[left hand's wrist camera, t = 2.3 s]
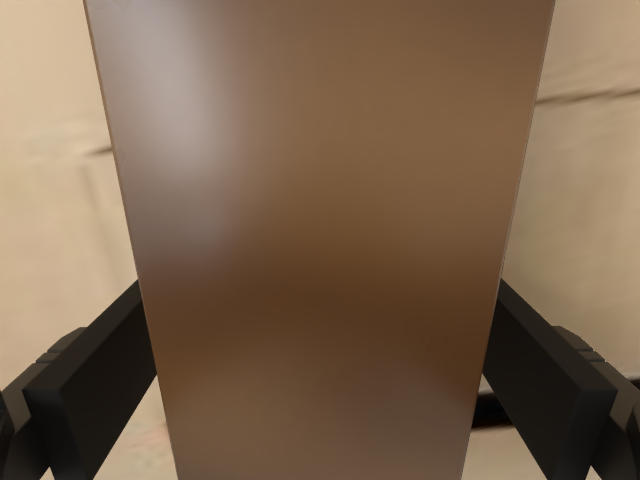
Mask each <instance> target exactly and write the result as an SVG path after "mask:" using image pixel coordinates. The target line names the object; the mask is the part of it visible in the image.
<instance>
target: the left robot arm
mask: <svg viewBox="0 0 640 480" xmlns="http://www.w3.org/2000/svg"><path fill="white" fill-rule="evenodd" d="M482 373H483V375H484V377H485V378H486V380H487V381H488V383H489V385H490V386H491V388H492V390H493V391H494V393H495V395H496V396H497V398H498V400H499V401H500V403H501V404H502V406H503V408H504V409H505V411H506V413H507V414H508V416H509V418H510V419H511V421H512V423H513V424H514V426H515V428H516V429H517V431H518V432H519V434H520V436H521V437H522V439H523V441H524V442H525V444H526V446H527V447H528V449H529V451H530V452H531V454H532V455H533V457H534V459H535V460H536V462H537V464H538V465H539V467H540V469H541V470H542V472H543V474H544V475H545V477H546V478H547V480H585V479H586V477H587V474H588V471H589V468H590V466H592V467H593V469H594V470H595V471H596V473H597V474H598V475H599V477H600V478H601V479H602V480H640V390H638V389H637V388H636V387H635V386H634V385H633V384H632V383H631V382H629V381H628V380H627V379H626V378H625V377H624V376H623V375H622V374H620V373H619V372H618V371H617V370H616V369H615V368H614V367H613V366H611V365H610V364H609V363H608V362H605V359H604V358H602V357H601V356H600V355H599V354H598V353H597V352H594V351H593V349H592V348H591V347H590V346H589V345H588V344H587V343H586V342H585V341H583V340H582V339H581V338H580V337H579V336H577V335H575V334H573V333H572V332H570V331H568V330H566V329H565V328H563V327H561V326H551V325H550V324H549V323H548V322H547V321H546V320H545V319H544V318H543V317H541V316H540V315H539V314H538V313H537V312H536V311H535V310H534V309H533V308H532V307H531V306H530V305H529V304H528V303H527V302H526V301H525V300H524V299H523V298H521V297H520V296H519V295H518V294H517V293H516V292H515V291H514V290H513V289H512V288H511V287H510V286H509V285H508V284H507V283H506V282H505V281H504V280H503V279H500V284H499V289H498V294H497V299H496V304H495V309H494V314H493V319H492V324H491V330H490V335H489V340H488V345H487V350H486V355H485V360H484V365H483V370H482ZM156 375H157V371H156V366H155V361H154V356H153V351H152V346H151V341H150V336H149V331H148V326H147V321H146V316H145V311H144V306H143V301H142V296H141V291H140V286H139V281H138V279H137V280H136V281H135V282H134V283H133V284H132V285H131V286H130V287H129V288H128V289H127V290H126V291H125V292H124V293H123V294H122V295H121V296H120V297H119V298H117V299H116V300H115V301H114V302H113V303H112V304H111V305H110V306H109V307H108V308H107V309H106V310H105V311H104V312H103V313H102V314H101V315H100V316H99V317H97V318H96V319H95V320H94V321H93V322H92V323H91V324H90V325H89V326H88V327H80V328H78V329H76V330H74V331H73V332H71V333H69V334H67V335H66V336H64V337H62V338H61V339H59V340H58V341H57V342H56V343H55V344H54V345H53V346H52V347H51V348H49V349H48V350H47V353H44V354H43V355H42V356H41V357H39V358H38V359H37V360H36V363H33V364H32V365H30V366H29V367H28V368H27V369H26V370H25V371H24V372H23V373H22V374H20V375H19V376H18V377H17V378H16V379H15V380H14V381H13V382H12V383H10V384H9V385H8V386H7V387H6V388H5V389H4V390H3V391H0V480H40V479H41V477H42V476H43V475H44V473H45V472H46V471H47V469H48V468H49V467H50V468H51V471H52V474H53V477H54V479H55V480H93V478H94V477H95V475H96V474H97V472H98V470H99V469H100V467H101V465H102V464H103V462H104V460H105V459H106V457H107V455H108V454H109V452H110V451H111V449H112V447H113V446H114V444H115V442H116V441H117V439H118V437H119V436H120V434H121V432H122V431H123V429H124V427H125V426H126V424H127V423H128V421H129V419H130V418H131V416H132V414H133V413H134V411H135V409H136V408H137V406H138V404H139V403H140V401H141V400H142V398H143V396H144V395H145V393H146V391H147V390H148V388H149V386H150V385H151V383H152V381H153V380H154V378H155V377H156Z"/></svg>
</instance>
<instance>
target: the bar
mask: <svg viewBox="0 0 640 480" xmlns="http://www.w3.org/2000/svg"><path fill="white" fill-rule="evenodd" d="M83 4H84V9H85V14H86V19H87V24H88V29H89V34H90V39H91V44H92V49H93V54H94V59H95V64H96V69H97V74H98V79H99V84H100V89H101V94H102V100H103V105H104V110H105V115H106V120H107V125H108V130H109V135H110V140H111V145H112V150H113V155H114V160H115V165H116V170H117V175H118V180H119V185H120V190H121V195H122V200H123V205H124V210H125V215H126V220H127V225H128V230H129V235H130V240H131V245H132V250H133V255H134V261H135V266H136V271H137V276H138V281H139V286H140V291H141V296H142V301H143V306H144V311H145V316H146V321H147V326H148V331H149V336H150V341H151V346H152V351H153V356H154V361H155V366H156V371H157V376H158V381H159V386H160V391H161V396H162V401H163V406H164V411H165V416H166V421H167V427H168V432H169V437H170V442H171V447H172V452H173V457H174V462H175V467H176V472H177V477H178V480H461V477H462V472H463V466H464V461H465V456H466V451H467V446H468V441H469V436H470V431H471V426H472V421H473V416H474V411H475V406H476V401H477V395H478V390H479V385H480V380H481V375H482V370H483V365H484V360H485V355H486V350H487V345H488V340H489V335H490V330H491V324H492V319H493V314H494V309H495V304H496V299H497V294H498V289H499V284H500V279H501V274H502V269H503V264H504V259H505V253H506V248H507V243H508V238H509V233H510V228H511V223H512V218H513V213H514V208H515V203H516V198H517V193H518V188H519V183H520V177H521V172H522V167H523V162H524V157H525V152H526V147H527V142H528V137H529V132H530V127H531V122H532V117H533V112H534V106H535V101H536V96H537V91H538V86H539V81H540V76H541V71H542V66H543V61H544V56H545V51H546V46H547V41H548V35H549V30H550V25H551V20H552V15H553V10H554V5H555V0H83Z"/></svg>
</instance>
